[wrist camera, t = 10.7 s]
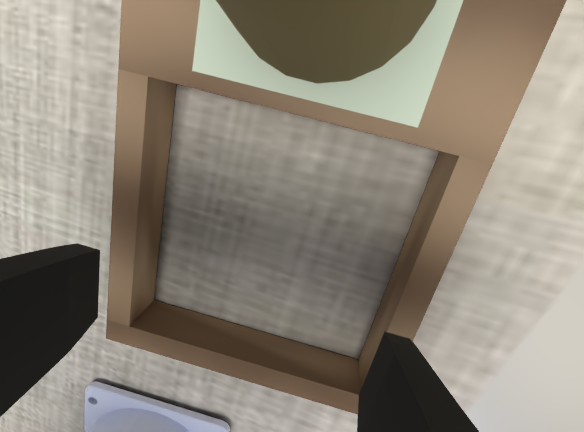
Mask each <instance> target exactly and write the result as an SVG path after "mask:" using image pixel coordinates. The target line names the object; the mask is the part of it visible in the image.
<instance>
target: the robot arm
mask: <svg viewBox="0 0 584 432" xmlns="http://www.w3.org/2000/svg"><path fill="white" fill-rule="evenodd" d="M99 262H100V250H98V249H94V248H91V247H87V246H84V245H80V244H71V245H64V246H58V247H53V248H48V249H43V250H39V251H34V252H29V253H25V254H20V255H16V256H12V257H7V258H3V259H0V417H1V416H2V415H3V414H4V413H5V412H6V411H7V410H8V409H9V408H10V407H11V406H12V405H13V404H14V403H15V402H17V401H18V400H19V399H20V398H21V397H22V396H23V395H24V394H25V393H26V392H27V391H28V390H29V389H30V388H31V387H33V386H34V385H35V384H36V383H37V382H38V381H39V380H40V379H41V378H42V377H43V376H44V375H45V374H46V373H47V372H48V371H49V370H50V369H52V368H53V367H54V366H55V365H56V364H57V363H58V362H59V361H60V360H61V359H62V358H63V357H64V356H65V355H66V354H67V353H68V352H69V351H70V350H71V349H72V347H73V346H74V345H75V344H76V343H77V342H78V341H79V339H80V338H81V337H82V336H83V335H84V333H85V332H86V331H87V330H88V328H89V327H90V326H91V325H92V323H93V322H94V321H95V320H96V318H97V317H98V290H99ZM84 432H230V426H229V425H228V423H226V422H225V421H223V420H220V419H217V418H213V417H210V416H207V415H204V414H200V413H197V412H194V411H191V410H187V409H184V408H181V407H178V406H174V405H171V404H168V403H165V402H162V401H158V400H155V399H152V398H149V397H145V396H142V395H139V394H136V393H132V392H129V391H126V390H123V389H120V388H116V387H113V386H110V385H107V384H103V383H100V382H95V381H94V382H91V383H90V384H89V385H88V386H87V387H86V389H85V413H84ZM357 432H479V431H478V430H477V428H476V427H475V426H474V424H473V423H472V422H471V421H470V419H469V418H468V417H467V415H466V414H465V413H464V411H463V410H462V409H461V407H460V406H459V405H458V403H457V402H456V401H455V399H454V398H453V396H452V395H451V394H450V392H449V391H448V390H447V388H446V387H445V386H444V384H443V383H442V381H441V380H440V379H439V377H438V376H437V374H436V373H435V372H434V370H433V369H432V367H431V366H430V365H429V363H428V362H427V361H426V359H425V358H424V356H423V355H422V354H421V352H420V351H419V350H418V348H417V347H416V346H415V344H414V343H413V342H412V341H411V339H410V338H406V337H403V336H399V335H395V334H392V333H388V332H385V331H384V334H383V336H382V339H381V341H380V344H379V346H378V349H377V351H376V354H375V356H374V359H373V361H372V363H371V366H370V368H369V371H368V373H367V376H366V378H365V381H364V383H363V386H362V388H361V391H360V393H359V402H358V428H357Z"/></svg>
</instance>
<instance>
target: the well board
mask: <svg viewBox="0 0 584 432" xmlns="http://www.w3.org/2000/svg"><path fill="white" fill-rule="evenodd" d="M565 2H566V0H437V1H436V4H435V6H434V8H433V10H432V11H431V13H430V14H429V16H428V17H427V19H426V20H425V22H424V23H423V25H422V26H421V28H420V29H419V31H418V32H417V34H416V35H415V37H414V38H413V40H412V41H411V42H410V43H409V44H408V45H407V46H406V47H404V48H403V49H402V50H401V51H400V52H399V53H397V54H396V55H395V56H394V57H393V58H392V59H390V60H389V61H388V62H387V63H386V64H385V65H383V66H382V67H380V68H378V69H376V70H373V71H371V72H369V73H366V74H364V75H362V76H359V77H357V78H355V79H353V80H350V81H341V82H329V83H318V84H317V83H313V82H309V81H305V80H301V79H297V78H293V77H289V76H286V75H284V74H283V73H281V72H280V71H278V70H277V69H275V68H274V67H272V66H271V65H269V64H268V63H266V62H265V61H263V60H262V59H260V58H259V57H258V56H257V55H256V53H255V52H254V51H253V50H252V48H251V47H250V46H249V45H248V43H247V42H246V41H245V40H244V38H243V37H242V36H241V35H240V33H239V32H238V31H237V29H236V28H235V27H234V25H233V24H232V22H231V21H230V20H229V18H228V17H227V15H226V14H225V12H224V11H223V10H222V8H221V7H220V5H219V4H218V3H217V1H216V0H122V6H121V28H120V49H119V71H118V92H117V114H116V135H115V157H114V178H113V200H112V221H111V243H110V265H109V286H108V308H107V329H106V339H110V340H113V341H116V342H120V343H123V344H126V345H130V346H133V347H136V348H140V349H143V350H146V351H150V352H153V353H156V354H159V355H163V356H166V357H169V358H173V359H176V360H179V361H183V362H186V363H189V364H193V365H196V366H199V367H203V368H206V369H209V370H213V371H216V372H219V373H222V374H226V375H229V376H232V377H236V378H239V379H242V380H246V381H249V382H252V383H256V384H259V385H262V386H266V387H269V388H272V389H276V390H279V391H282V392H285V393H289V394H292V395H295V396H299V397H302V398H305V399H309V400H312V401H315V402H319V403H322V404H325V405H329V406H332V407H335V408H339V409H342V410H345V411H348V412H352V413H355V414H358V402H359V393H360V391H361V388H362V386H363V383H364V381H365V378H366V376H367V373H368V371H369V368H370V366H371V363H372V361H373V359H374V356H375V354H376V351H377V349H378V346H379V344H380V341H381V339H382V336H383V334H384V331H385V332H388V333H392V334H395V335H399V336H403V337H406V338H410V339H411V341H413V339H414V337H415V335H416V332H417V330H418V328H419V326H420V324H421V321H422V319H423V317H424V315H425V312H426V310H427V308H428V306H429V304H430V301H431V299H432V297H433V295H434V293H435V290H436V288H437V286H438V284H439V281H440V279H441V277H442V275H443V273H444V270H445V268H446V266H447V264H448V262H449V259H450V257H451V255H452V253H453V250H454V248H455V246H456V244H457V242H458V239H459V237H460V235H461V233H462V231H463V228H464V226H465V224H466V222H467V219H468V217H469V215H470V213H471V211H472V208H473V206H474V204H475V202H476V200H477V197H478V195H479V193H480V191H481V188H482V186H483V184H484V182H485V180H486V177H487V175H488V173H489V171H490V169H491V166H492V164H493V162H494V160H495V157H496V155H497V153H498V151H499V149H500V146H501V144H502V142H503V140H504V138H505V135H506V133H507V131H508V129H509V126H510V124H511V122H512V120H513V118H514V115H515V113H516V111H517V109H518V107H519V104H520V102H521V100H522V98H523V95H524V93H525V91H526V89H527V87H528V84H529V82H530V80H531V78H532V75H533V73H534V71H535V69H536V67H537V64H538V62H539V60H540V58H541V56H542V53H543V51H544V49H545V47H546V44H547V42H548V40H549V38H550V36H551V33H552V31H553V29H554V27H555V25H556V22H557V20H558V18H559V16H560V13H561V11H562V9H563V7H564V5H565ZM176 84H179V85H183V86H187V87H191V88H195V89H199V90H202V91H206V92H210V93H214V94H218V95H222V96H226V97H230V98H234V99H238V100H242V101H246V102H249V103H253V104H257V105H261V106H265V107H269V108H273V109H277V110H281V111H285V112H289V113H293V114H296V115H300V116H304V117H308V118H312V119H316V120H320V121H324V122H328V123H332V124H336V125H339V126H343V127H347V128H351V129H355V130H359V131H363V132H367V133H371V134H375V135H379V136H383V137H386V138H390V139H394V140H398V141H402V142H406V143H410V144H414V145H418V146H422V147H426V148H430V149H433V150H437V151H440V152H439V155H438V157H437V160H436V163H435V165H434V168H433V170H432V173H431V175H430V178H429V181H428V183H427V186H426V188H425V191H424V193H423V196H422V198H421V201H420V204H419V206H418V209H417V211H416V214H415V216H414V219H413V222H412V224H411V227H410V229H409V232H408V234H407V237H406V240H405V242H404V245H403V247H402V250H401V252H400V255H399V257H398V260H397V263H396V265H395V268H394V270H393V273H392V275H391V278H390V281H389V283H388V286H387V288H386V291H385V293H384V296H383V299H382V301H381V304H380V306H379V309H378V311H377V314H376V316H375V319H374V322H373V324H372V327H371V329H370V332H369V334H368V337H367V340H366V342H365V345H364V347H363V350H362V352H361V355H360V358H359V360H357V359H353V358H350V357H347V356H343V355H340V354H336V353H333V352H330V351H326V350H323V349H319V348H316V347H312V346H309V345H306V344H302V343H299V342H295V341H292V340H289V339H285V338H282V337H278V336H275V335H271V334H268V333H265V332H261V331H258V330H254V329H251V328H248V327H244V326H241V325H237V324H234V323H230V322H227V321H224V320H220V319H217V318H213V317H210V316H207V315H203V314H200V313H196V312H193V311H190V310H186V309H183V308H179V307H176V306H172V305H169V304H166V303H162V302H159V301H155V300H154V294H155V284H156V274H157V265H158V255H159V246H160V236H161V226H162V217H163V207H164V198H165V188H166V178H167V169H168V159H169V150H170V140H171V130H172V121H173V111H174V102H175V92H176Z"/></svg>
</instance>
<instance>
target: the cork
mask: <svg viewBox="0 0 584 432" xmlns="http://www.w3.org/2000/svg"><path fill="white" fill-rule="evenodd" d="M216 1H217V3H218V4H219V5H220V7H221V8H222V10H223V11H224V12H225V14H226V15H227V17H228V18H229V20H230V21H231V22H232V24H233V25H234V27H235V28H236V29H237V31H238V32H239V33H240V35H241V36H242V37H243V38H244V40H245V41H246V42H247V43H248V45H249V46H250V47H251V48H252V50H253V51H254V52H255V53H256V55H257V56H258V57H259V58H260V59H262V60H263V61H265V62H266V63H268V64H269V65H271V66H272V67H274V68H275V69H277V70H278V71H280V72H281V73H283V74H284V75H286V76H289V77H293V78H297V79H301V80H305V81H309V82H313V83H317V84H318V83H329V82H341V81H350V80H353V79H355V78H357V77H359V76H362V75H364V74H366V73H369V72H371V71H373V70H376V69H378V68H380V67H382V66H383V65H385V64H386V63H387V62H388V61H389V60H390V59H392V58H393V57H394V56H395V55H396V54H397V53H399V52H400V51H401V50H402V49H403V48H404V47H406V46H407V45H408V44H409V43H410V42H411V41H412V40H413V38H414V37H415V35H416V34H417V32H418V31H419V29H420V28H421V26H422V25H423V23H424V22H425V20H426V19H427V17H428V16H429V14H430V13H431V11H432V10H433V8H434V6H435V4H436V1H437V0H216Z"/></svg>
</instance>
